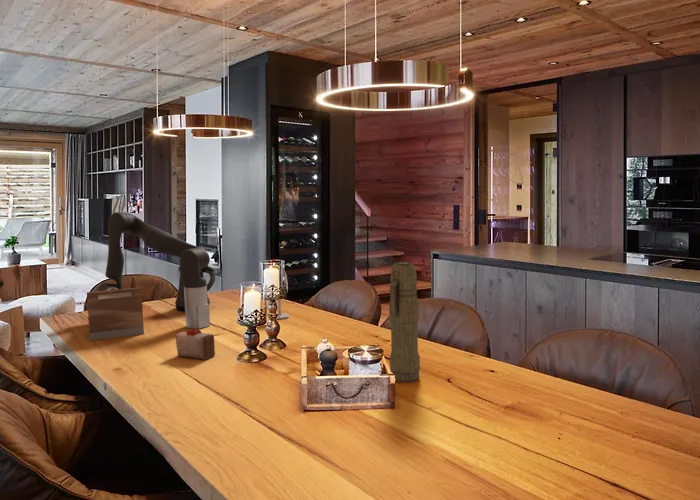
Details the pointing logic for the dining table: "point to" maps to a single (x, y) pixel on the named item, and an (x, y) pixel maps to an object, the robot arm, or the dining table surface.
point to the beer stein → (180, 297)
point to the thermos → (404, 322)
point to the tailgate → (115, 309)
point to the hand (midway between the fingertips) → (115, 304)
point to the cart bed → (116, 333)
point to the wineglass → (280, 315)
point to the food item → (195, 344)
